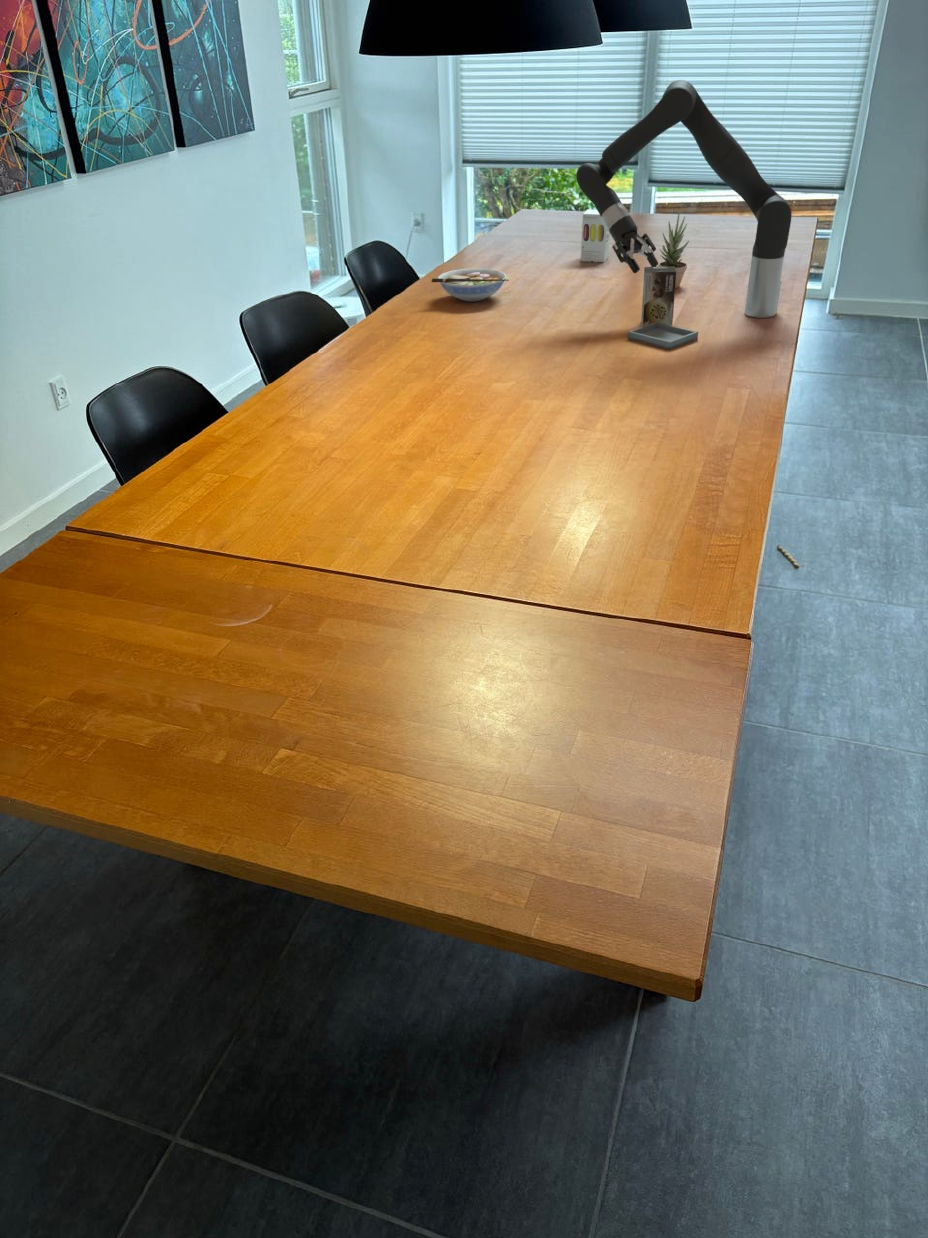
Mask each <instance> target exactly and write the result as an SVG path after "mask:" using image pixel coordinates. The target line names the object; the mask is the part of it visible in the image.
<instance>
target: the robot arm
mask: <svg viewBox="0 0 928 1238" xmlns="http://www.w3.org/2000/svg"><path fill="white" fill-rule="evenodd" d="M709 109H710V108H708V107H707V105H706V103H705V102H704V101H703V99H702V98H701V96H700V94H699V93H698V91H697V90H696V88H695V87H694V85H693V84H692V83H690V82H689V81H686V80H684V79H677V80H674V81H673V82H671V83H670V84H669V85H667V87H666V89H665V91H664V92H663V94H662V96H661V99H659V101H658V102H657V103H656V105H655V106H653V108H652V109H651V110H650V112H649V113H648V114H647V115H646V116H644V117H643V118H642V119H641V120H640V121H639V122H638V123H635V125H633V126H632V127H629V129H627V130H626V131H625V132H623V133H622V134H620V135H619V136H618V137H617V138H616V139H615V140H613V142H611V143H610V144H609V145H608V146H606V147H605V149H604V150H603V151H602V154H601V159H600V160H598V162H596V163H595V164H594V163H591V162H587V163H586V162H585V163H583V164H581V165H580V166H578V168H577V171H576V174H575V175H576V176H575V178H576V183H577V185H578V187H579V188H580V190H581V191H582V193H583V194H584V195H585V196H586V197H587V199H588V200H589V201H590V202H591V203H592V204H593V205H594V207H595V210H597V211H598V212H599V214H600V216H601V217H602V219H603V222H604V224H605V226H606V228H607V229H608V231H609V233H610V236H611V237H612V239H613V241H614V244H613V245H612V250H613V251H614V253H615V255H616V256H617V258H618V261H619V262H620V263H621V264H623V263H625V264H627V266H628V267H629V269H630V270H631V271H632V273H633V274H637V273H638V272H639V271H640V270H641V269H640V266H639V264H638V262H637V261H636V260H635V258H634V254H638V255H640V256H644V257H645V258H646V260H647V261H648V263H649V265H650V267H658V266H659V261H658V259H657V258H656V256H655V254H654V252H655V251H657V248H656V245H654V243H653V242H652V240H651V238H650V237H649V235H648V234H647V233H643V235H640V234H639V233H638V226H637V224H636V223H635V221H634V219H633V217H632V216H631V215H630V212H629V210H628V209H627V208H626V206H625V205H624V204H623V203H622V201H621V199H620V198H619V196H618V195H617V193H616V191H615V190H614V189H613V188H611V187H610V186H608V184H609V183H610V181H611V180H612V179H613V178H614V176H615V175H616V173H617V172H618V171H619V170H620V169H621V168H622V167H623V166H625V165H626V164H628V162H630V161H631V160H632V159H633V158H634V157H635V156H637V154H639V153H640V152H641V151H642V150H643V149H644V148H645V147H646V146H647V145H648V144H650V143H651V142H652V141H653V140H655V139H656V138H657V137H659V136H660V135H661V134H663V133H664V132H666V131H667V130H669V129H670V128H672V127H674V126H675V125H678V124H679V123H681V124H682V125H683V126H684V127H685V128H686V129H687V130H688V131H689V132H690V134H691V135H692V137H693V138H694V141H695V142H696V144H697V146H698V148H699V151H700V152H701V154H702V157H703V158H704V160H705V161H706V163H707V164H708V165H709V166H710V168H711V169H712V170H713V171H714V172H715V174H716V175H717V176H718V177H719V178H720V180H722V182H723V183H724V184H726V185H727V186H728V187H729V188H730V189H731V190H733V191H734V192H736V194H738V195H739V197H741V198H742V200H743V201H744V202H745V203H746V204H747V206H748V208H749V209H750V211H751V212H752V214H753V215H754V217H755V219H756V221H757V226H756V232H755V233H756V234H755V241H754V245H752V246H753V247H752V253H751V260H750V268H749V276H748V283H747V284H748V285H747V291H746V298H745V299H746V300H745V304H744V305H745V307H744V315H745V316H747V317H751V318H760V319H765V318H772V317H774V316H775V315H776V313H778V306H779V299H780V292H781V287H782V281H781V280H782V272H783V266H784V265H783V264H784V258H785V252H786V250H787V246H788V242H789V236H790V229H791V224H792V209H791V206H790V204H789V203H788V201H787V200H786V199H785V198H784V197H782V195H780V194H779V193H777V192H776V190H775V189H774V188H772V187H771V185H770V184H769V183H767V182H766V180H765V179H764V178H763V177H762V175H761V174H760V173H759V171H758V169H757V167H756V166H755V164H754V163H753V161H752V160H751V157H750V156H749V155H748V153H747V152H746V151H745V149H744V147H742V146H741V144H740V143H739V142H738V141H737V140H736V139H735V138H734V137H733V136H732V134H731V133H730V132H729V131H728V130H727V129H726V127H725V126H724V125H723V124H722V123H721V122H720V121H719V120H718V119H717V118H716V117H715V116H714V114H712V112H711V111H710V110H709Z"/></svg>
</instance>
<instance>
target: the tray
mask: <svg viewBox="0 0 928 1238" xmlns="http://www.w3.org/2000/svg"><path fill="white" fill-rule="evenodd" d="M698 338H699V331H696V330H691V329H688V328H683V327H679V326H674V325H672V326H671V325H667V324H663V323H659V322H655V323H652V324H649V325H646V326H643V327H642V326H640V327H638V328H635V329H632V330H629V331H628V332H627V340H630V341H633V342H637V343H641V344H645V345H649V346H652V347H657V348H659V349H663V350H667V351H670V350H673V349H676V348H679V347H681V346H685V345H687V344H690V343H692V342H695V341H697V340H698Z"/></svg>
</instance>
